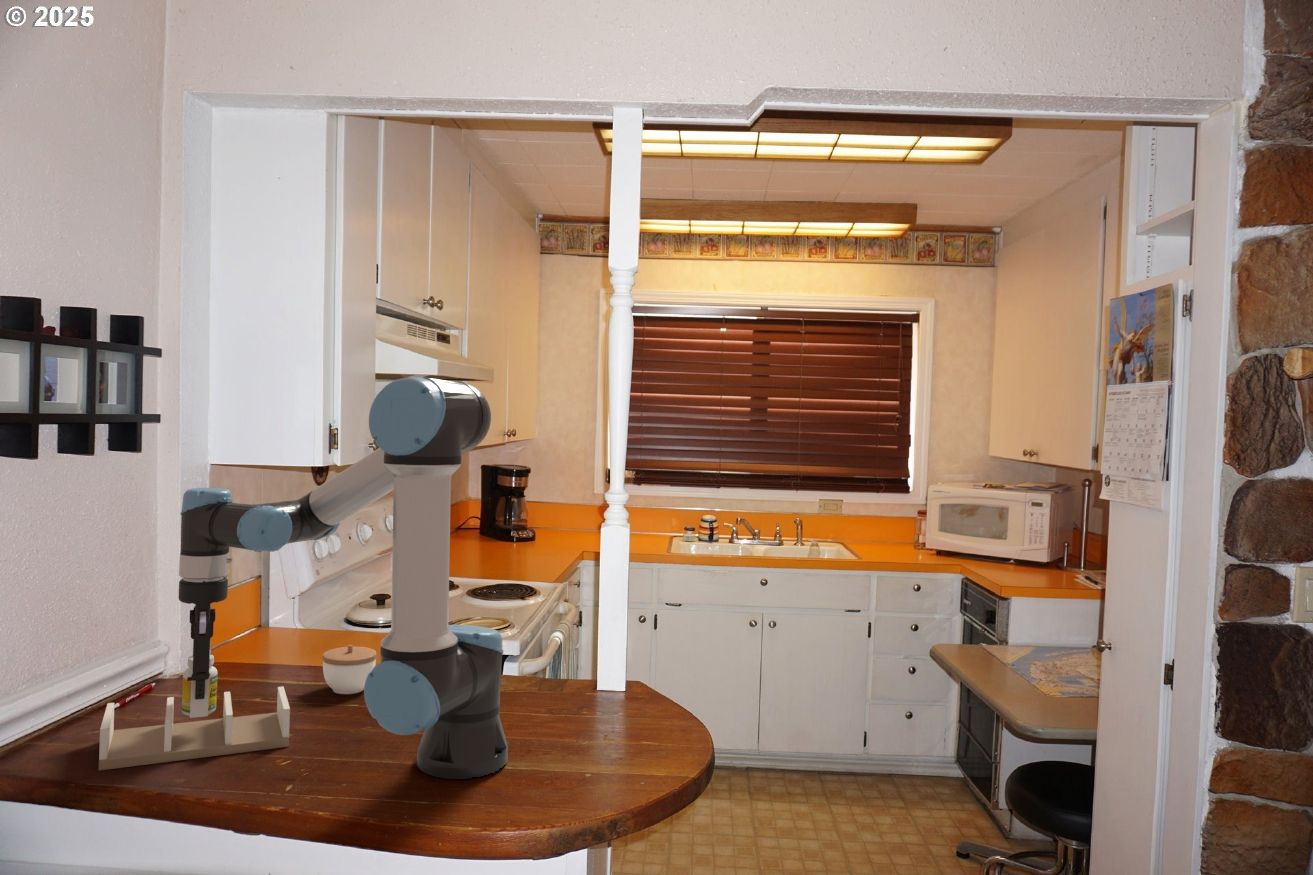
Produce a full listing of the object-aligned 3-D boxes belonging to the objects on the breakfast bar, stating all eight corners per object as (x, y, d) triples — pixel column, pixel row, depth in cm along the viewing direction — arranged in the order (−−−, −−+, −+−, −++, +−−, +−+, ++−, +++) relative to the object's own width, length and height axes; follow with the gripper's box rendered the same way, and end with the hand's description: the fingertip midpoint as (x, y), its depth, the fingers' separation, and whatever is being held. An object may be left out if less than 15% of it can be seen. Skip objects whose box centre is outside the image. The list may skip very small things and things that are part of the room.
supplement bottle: (184, 707, 152) (186, 653, 152) (218, 705, 154) (220, 651, 154) (178, 718, 147) (181, 662, 147) (214, 715, 149) (216, 660, 149)
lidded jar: (348, 701, 175) (350, 655, 175) (309, 691, 180) (311, 647, 179) (386, 687, 185) (387, 643, 185) (348, 678, 189) (349, 636, 189)
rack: (288, 746, 151) (290, 709, 151) (98, 770, 138) (99, 729, 138) (282, 719, 163) (283, 685, 163) (106, 739, 150) (107, 702, 150)
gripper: (229, 587, 143) (224, 725, 144) (226, 567, 160) (221, 691, 160) (178, 589, 140) (172, 731, 140) (180, 568, 156) (175, 696, 157)
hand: (198, 710), depth 150 cm, fingers closed on supplement bottle, 5 cm apart
